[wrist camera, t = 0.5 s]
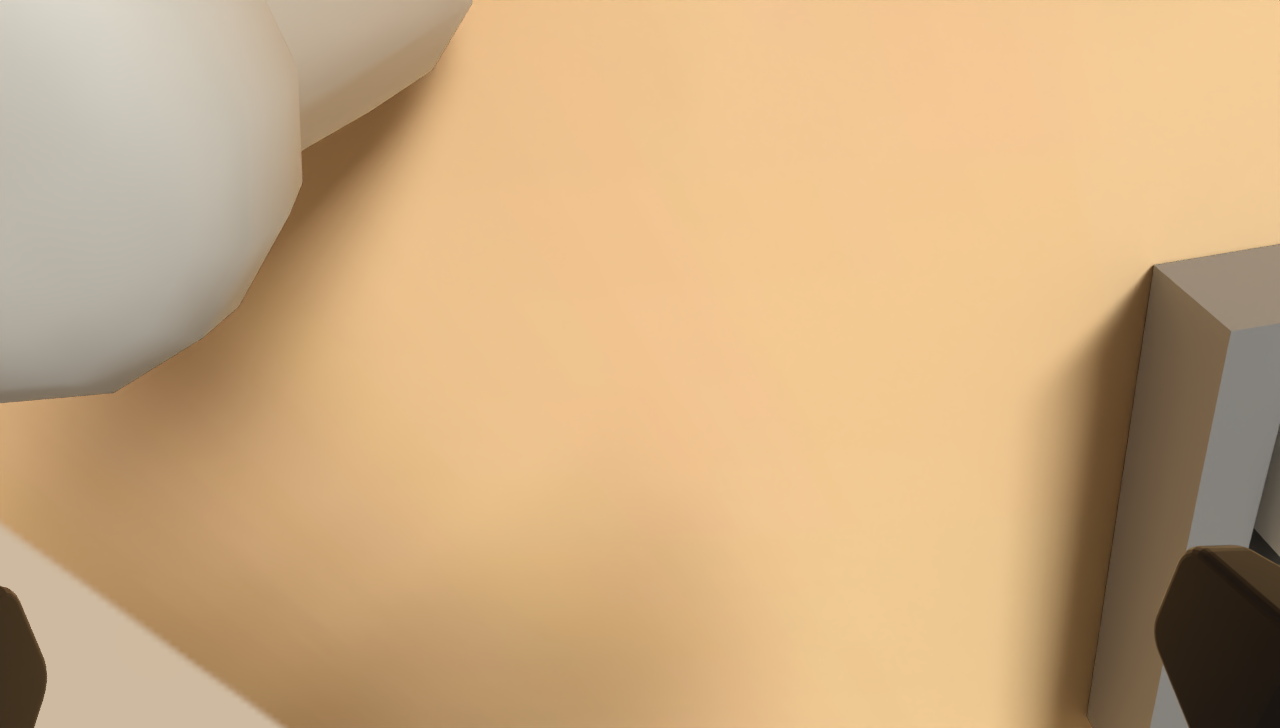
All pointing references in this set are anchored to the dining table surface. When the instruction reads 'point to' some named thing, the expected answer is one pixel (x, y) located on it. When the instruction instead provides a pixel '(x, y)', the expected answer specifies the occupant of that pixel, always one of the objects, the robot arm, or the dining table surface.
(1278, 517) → the key offwhite
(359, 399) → the dining table surface
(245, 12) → the salt shaker
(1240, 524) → the keypad
